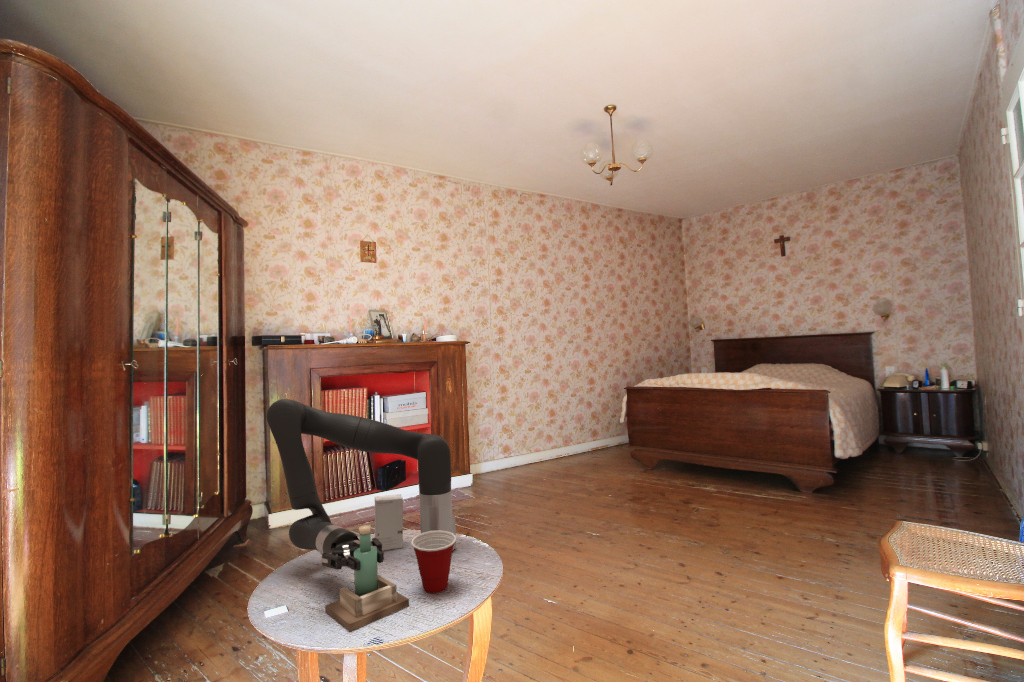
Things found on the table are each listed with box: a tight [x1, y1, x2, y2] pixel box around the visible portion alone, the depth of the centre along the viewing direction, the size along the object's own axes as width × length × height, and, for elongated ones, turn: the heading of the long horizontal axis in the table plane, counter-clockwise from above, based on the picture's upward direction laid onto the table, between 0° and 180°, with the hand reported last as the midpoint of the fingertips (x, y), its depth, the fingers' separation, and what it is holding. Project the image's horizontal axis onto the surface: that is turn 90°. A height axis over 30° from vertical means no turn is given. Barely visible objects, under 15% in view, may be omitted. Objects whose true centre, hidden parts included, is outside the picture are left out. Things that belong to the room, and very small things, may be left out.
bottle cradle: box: [324, 574, 410, 632], centre depth 108 cm, size 14×12×5 cm
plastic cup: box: [411, 530, 457, 594], centre depth 117 cm, size 11×11×12 cm
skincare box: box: [374, 494, 404, 552], centre depth 146 cm, size 8×6×15 cm
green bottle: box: [353, 524, 379, 597], centre depth 109 cm, size 5×5×15 cm
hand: (370, 561), depth 107 cm, fingers closed on green bottle, 5 cm apart
